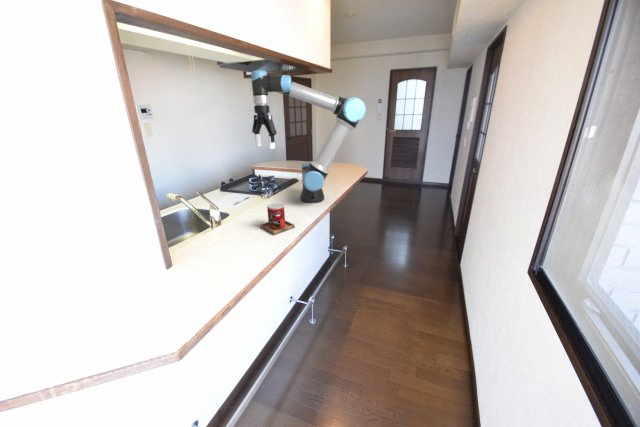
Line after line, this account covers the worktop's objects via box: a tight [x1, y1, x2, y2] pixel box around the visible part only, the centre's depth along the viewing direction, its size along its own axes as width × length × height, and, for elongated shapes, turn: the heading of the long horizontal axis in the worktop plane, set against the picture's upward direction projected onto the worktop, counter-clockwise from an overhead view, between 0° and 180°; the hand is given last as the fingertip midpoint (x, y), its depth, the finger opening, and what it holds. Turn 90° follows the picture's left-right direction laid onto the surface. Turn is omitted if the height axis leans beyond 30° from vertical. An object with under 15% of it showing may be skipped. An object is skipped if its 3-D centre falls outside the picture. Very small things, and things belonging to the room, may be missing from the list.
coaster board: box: [259, 220, 295, 236], centre depth 132 cm, size 12×12×2 cm
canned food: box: [267, 202, 286, 230], centre depth 131 cm, size 8×8×11 cm
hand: (265, 147), depth 146 cm, fingers open, 13 cm apart
